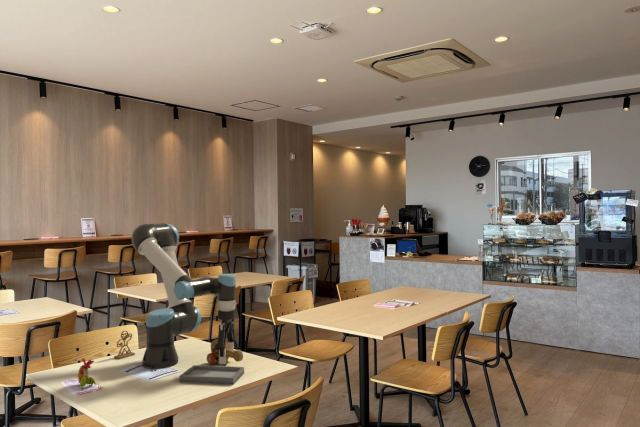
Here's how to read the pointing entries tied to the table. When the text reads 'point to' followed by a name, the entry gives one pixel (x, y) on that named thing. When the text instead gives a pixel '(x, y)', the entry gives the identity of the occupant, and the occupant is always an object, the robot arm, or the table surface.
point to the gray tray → (212, 374)
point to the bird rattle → (85, 374)
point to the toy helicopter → (230, 353)
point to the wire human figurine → (124, 348)
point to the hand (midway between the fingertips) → (226, 360)
